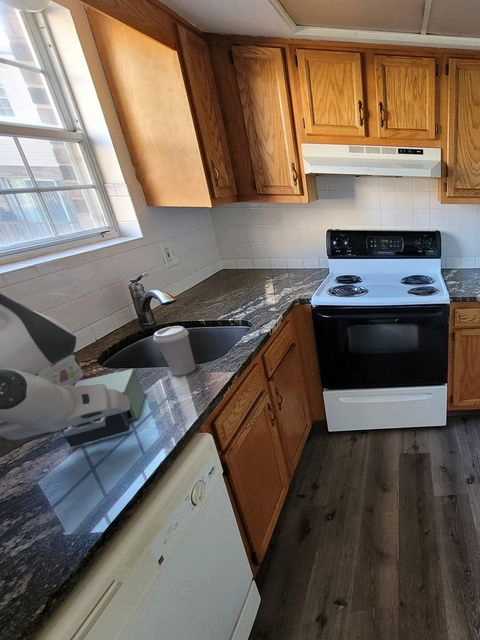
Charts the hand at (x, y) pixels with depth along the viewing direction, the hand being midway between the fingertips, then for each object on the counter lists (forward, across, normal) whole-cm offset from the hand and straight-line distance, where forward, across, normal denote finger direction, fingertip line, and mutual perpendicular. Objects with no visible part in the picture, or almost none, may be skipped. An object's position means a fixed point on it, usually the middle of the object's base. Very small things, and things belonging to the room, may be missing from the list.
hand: (85, 421), depth 87 cm
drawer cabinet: (+17, 0, +6) cm, 18 cm away
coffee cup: (+30, +16, +18) cm, 39 cm away
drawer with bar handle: (+10, 0, 0) cm, 10 cm away
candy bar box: (+27, -12, +15) cm, 33 cm away
